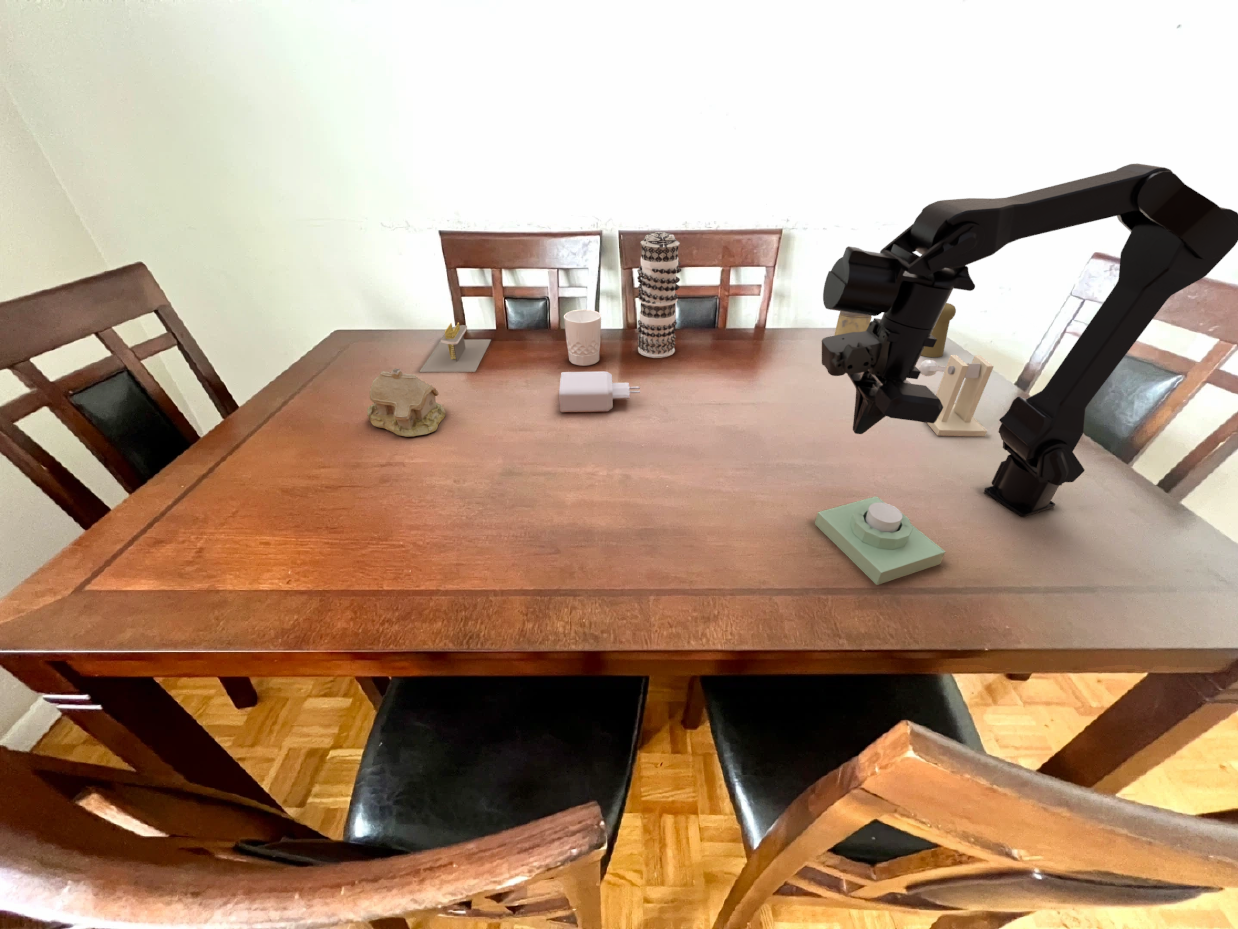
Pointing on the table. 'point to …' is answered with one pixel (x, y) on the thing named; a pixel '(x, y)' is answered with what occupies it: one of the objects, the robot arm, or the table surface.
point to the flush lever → (931, 368)
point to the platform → (456, 352)
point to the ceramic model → (404, 404)
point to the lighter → (852, 323)
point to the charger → (590, 391)
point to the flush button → (883, 517)
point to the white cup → (583, 336)
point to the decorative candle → (658, 294)
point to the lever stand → (961, 398)
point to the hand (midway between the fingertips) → (857, 432)
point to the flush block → (878, 542)
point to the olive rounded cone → (940, 332)
